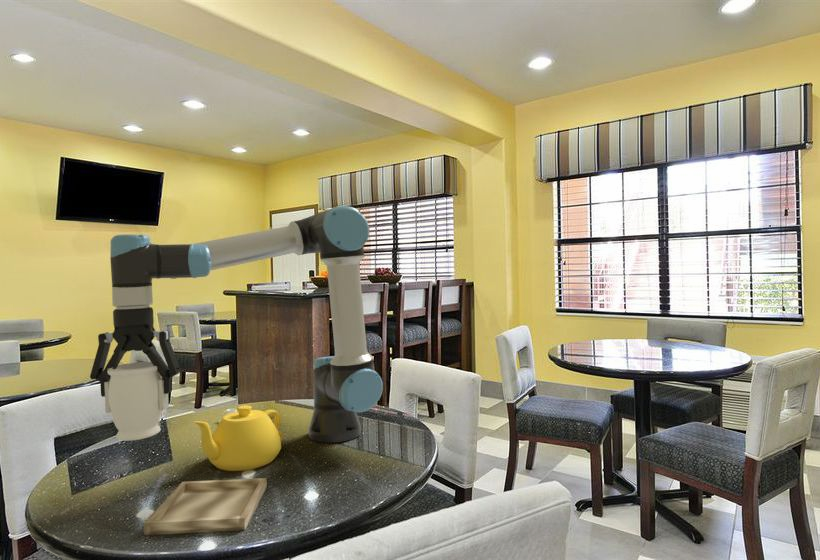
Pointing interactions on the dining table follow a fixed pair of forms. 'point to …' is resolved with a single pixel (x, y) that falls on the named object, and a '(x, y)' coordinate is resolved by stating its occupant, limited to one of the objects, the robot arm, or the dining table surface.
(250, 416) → the teapot
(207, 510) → the tray
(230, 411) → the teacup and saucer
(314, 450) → the dining table surface
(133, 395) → the jar
